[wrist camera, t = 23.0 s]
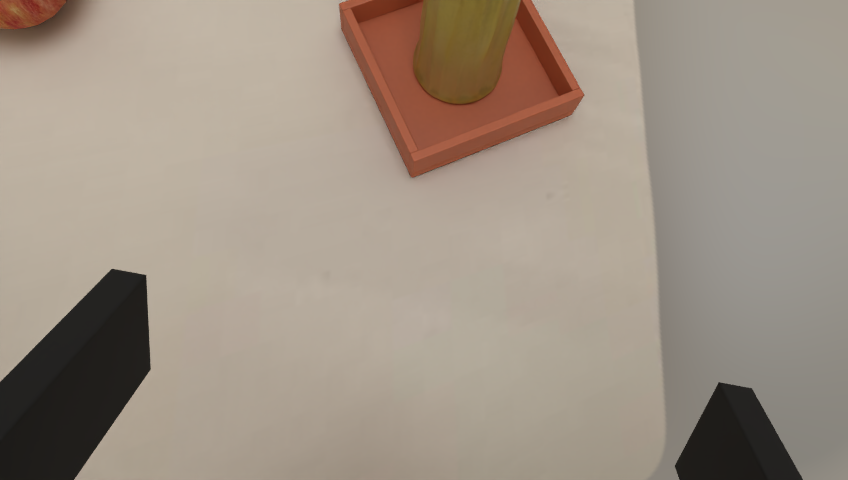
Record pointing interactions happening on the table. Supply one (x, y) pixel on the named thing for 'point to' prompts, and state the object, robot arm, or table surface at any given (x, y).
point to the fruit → (27, 12)
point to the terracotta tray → (446, 122)
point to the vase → (462, 47)
